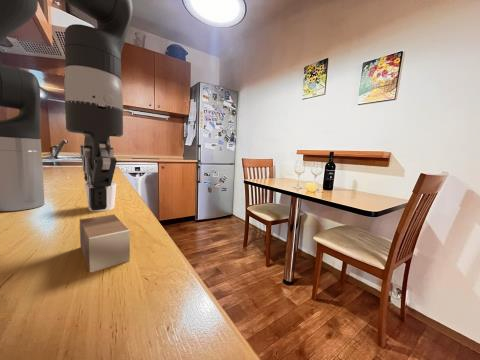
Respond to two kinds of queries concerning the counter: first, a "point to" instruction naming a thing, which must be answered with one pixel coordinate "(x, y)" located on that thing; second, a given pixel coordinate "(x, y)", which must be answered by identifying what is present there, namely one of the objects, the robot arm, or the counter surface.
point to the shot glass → (110, 197)
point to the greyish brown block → (104, 242)
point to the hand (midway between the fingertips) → (98, 208)
